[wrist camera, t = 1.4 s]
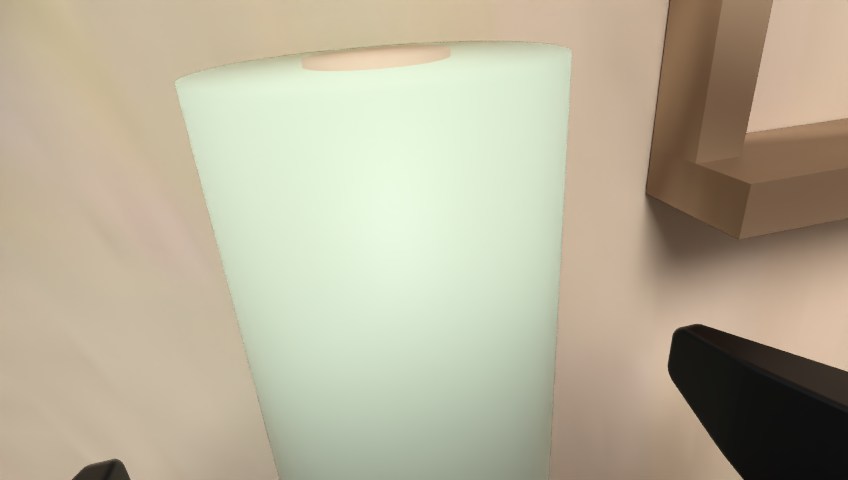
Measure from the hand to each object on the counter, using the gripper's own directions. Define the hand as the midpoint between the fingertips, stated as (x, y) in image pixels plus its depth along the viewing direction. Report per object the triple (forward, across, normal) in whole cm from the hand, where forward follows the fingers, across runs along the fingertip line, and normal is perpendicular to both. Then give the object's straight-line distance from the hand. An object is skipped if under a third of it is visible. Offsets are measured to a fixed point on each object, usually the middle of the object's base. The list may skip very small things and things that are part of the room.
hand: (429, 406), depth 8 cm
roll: (+5, 0, 0) cm, 5 cm away
